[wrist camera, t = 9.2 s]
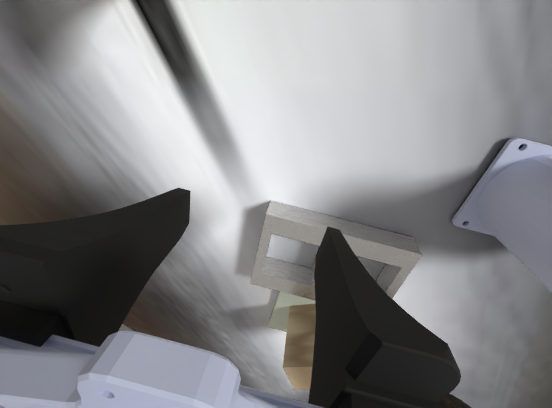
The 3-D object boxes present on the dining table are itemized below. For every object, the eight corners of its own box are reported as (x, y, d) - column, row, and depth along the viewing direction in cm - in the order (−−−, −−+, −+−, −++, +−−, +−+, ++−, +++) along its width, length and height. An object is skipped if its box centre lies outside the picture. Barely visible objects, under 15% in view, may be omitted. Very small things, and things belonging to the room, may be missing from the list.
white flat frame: (413, 237, 24) (422, 254, 22) (374, 298, 29) (378, 317, 26) (270, 200, 24) (265, 214, 22) (255, 266, 29) (249, 283, 27)
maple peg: (323, 302, 29) (324, 366, 23) (330, 325, 31) (333, 389, 25) (289, 305, 30) (282, 367, 24) (298, 327, 32) (294, 389, 26)
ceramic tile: (358, 300, 29) (359, 306, 28) (335, 339, 33) (335, 344, 33) (282, 280, 29) (281, 285, 29) (269, 321, 33) (268, 327, 33)
